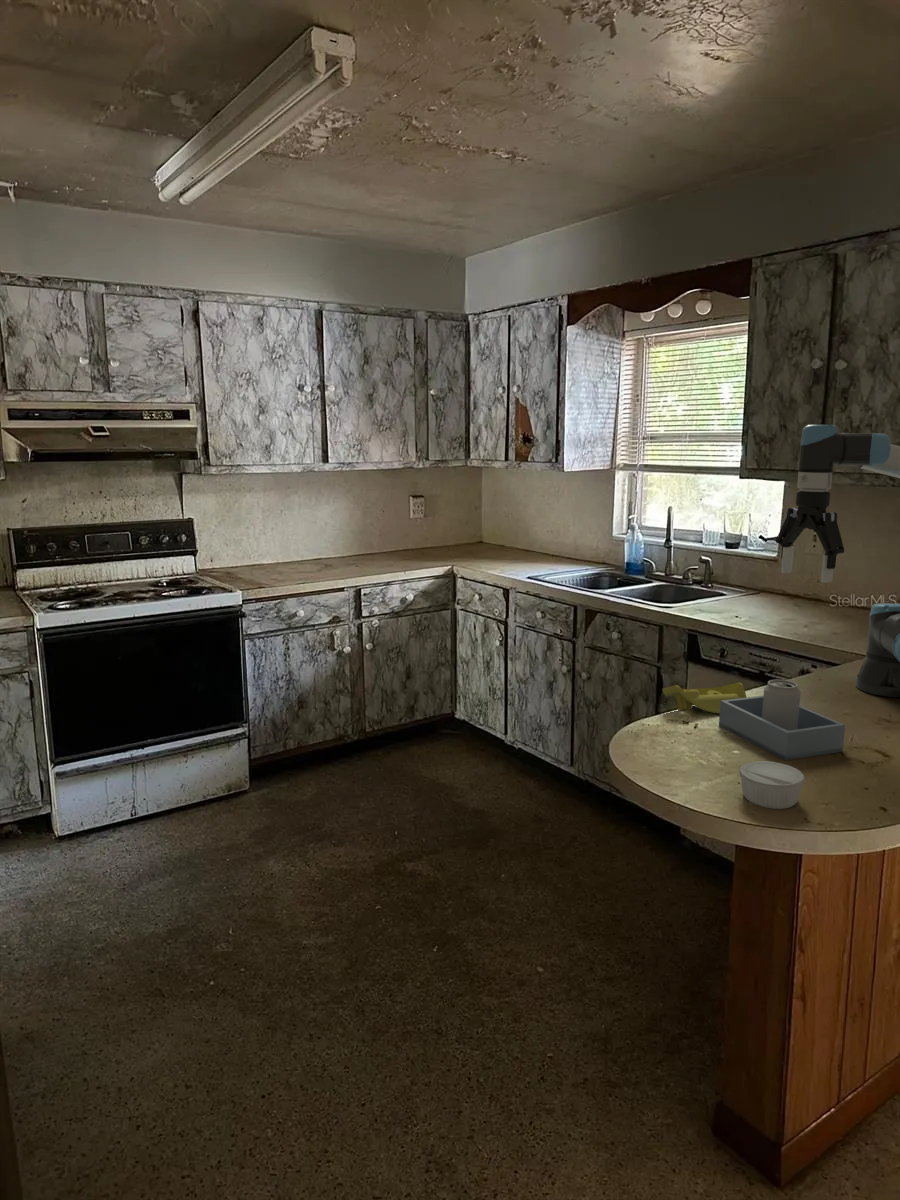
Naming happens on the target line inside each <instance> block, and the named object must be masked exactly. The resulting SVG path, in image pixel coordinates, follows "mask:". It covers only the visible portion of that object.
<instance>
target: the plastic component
mask: <svg viewBox="0 0 900 1200" xmlns="http://www.w3.org/2000/svg"><path fill="white" fill-rule="evenodd" d="M661 690H662V692H663V694H664V695H665V697H671V698H672V697H674V698H675V699H676V700H675V701H676V706H677V710H678V711H685V710H684V709H686V710H688V711H689V710H692V709H693V706H694V707H696V708H698V709H700V710H703V711H704V712H708V713H713V714H720V702H721V701H722V700H731V699H739V698H747V697H748V696H747V694H746V689H745V687H744V685H743V683H742V682H736V683H731V684H727V685H724V686H719V687H703V688H702V687H701V688H700V687H699V688H698V687H697V688H681V686H679V685H678V684H677V685H676V684H675V685H673V684H672V685H671V686H667V687H663V688H662V689H661Z"/></svg>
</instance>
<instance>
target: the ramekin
mask: <svg viewBox="0 0 900 1200" xmlns="http://www.w3.org/2000/svg"><path fill="white" fill-rule="evenodd" d="M739 777H740V780H741V789H742V794H743V796H744V797H745V798H746V799H747V801H748V800H749V801H748V802H750V803H751V802H752V804H753V803H754V805H756V806H758V805H759V807H762V808H766V809H775V810H781V809H783V810H785V809H789V808H792V807H793V806H795V804H797V803H798V801H799V799H800V795H801V793H802V792H801V791H802V787H803V785H804V784H805V775H804V774H803V772H802V771H800V770H799V769H798V768H796V767H793V766H790V765H787V764H784V763H781V762H775V761H770V760H769V761H768V760H766V761H765V760H763V761H762V760H760V761H759V760H758V761H757V760H756V761H751V762H750V761H749V762H748V763H747V762H746V763H745V764H743V765H742V766H741V767H740V768H739Z"/></svg>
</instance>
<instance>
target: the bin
mask: <svg viewBox="0 0 900 1200" xmlns="http://www.w3.org/2000/svg"><path fill="white" fill-rule="evenodd" d="M746 697H747V698H739V699H731V700H722V701H721V702H720V713H719V719H718V726H719V727H721V728H722V729H724V730H727V731H729V732H730V733H732V734H734V735H736V736H738V737H739V738H742V739H744V740H745V741H748V742H749V743H751V744H753V745H755V746H757V747H759V748H761V749H763V750H764V749H765V751H767V752H768V751H769V752H768V753H770V754H773V755H774V756H776V757H777V758H780V759H781V760H784V761H790V760H797V759H803V758H808V757H815V756H822V755H823V756H824V755H827V754H828V755H829V754H836V753H840V752H841V753H842V752H843V751H844V744H845V743H844V742H845V741H844V740H845V732H846V724H845V723H842V722H839V721H838V720H836V719H835V720H834V719H832V718H831V717H828V716H827V715H823V714H821V713H819V712H816V711H814V710H811V709H809V708H807V707H804V706H802V705H800V706H799V717H798V728H797V730H790V731H788V730H786V729H783V728H781V727H779V726H777V725H775V724H773V723H771V722H769V721H767V720H765V719H762V709H763V697H764V695H759V696H758V695H757V696H750V697H749V696H746Z"/></svg>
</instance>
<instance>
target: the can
mask: <svg viewBox="0 0 900 1200" xmlns="http://www.w3.org/2000/svg"><path fill="white" fill-rule="evenodd" d="M798 687H799V685H798V683H796V682H795V681H790V680H788V679H787V680H786V679H770V680H768V681H767V685H765V687H764V689H763V696H764V697H763V709H762V719H765V720H767V721H769V722H771V723H773V724H775V725H777V726H779V727H781V728H783V729H786V730H788V731H790V730H797V728H798V717H799V706H801V705H800V704H801V695H802V694H801V692H802V691H801V690H800V689H799V688H798Z"/></svg>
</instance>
